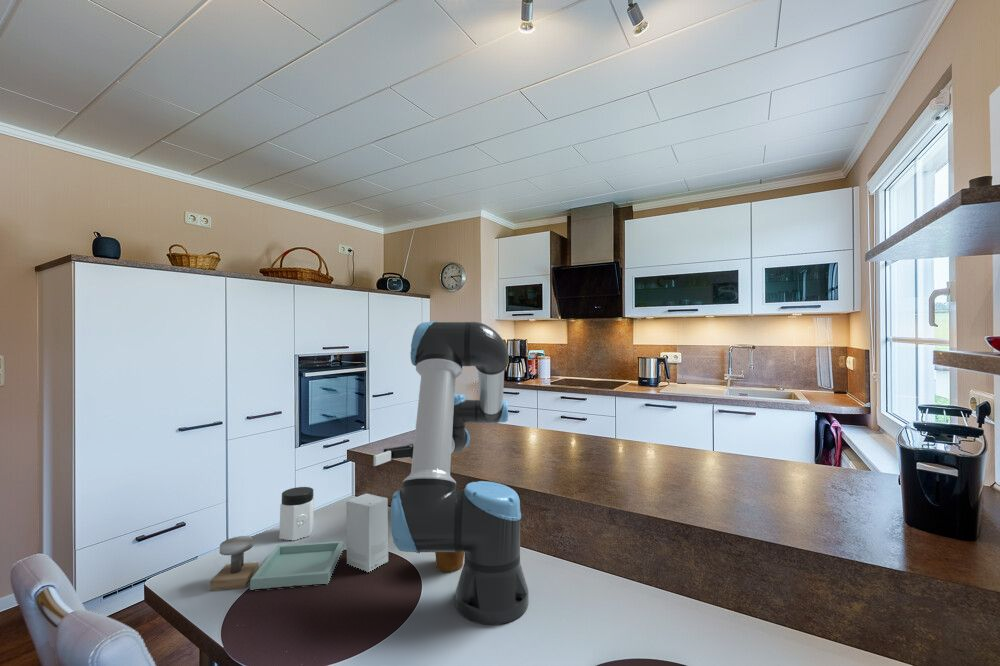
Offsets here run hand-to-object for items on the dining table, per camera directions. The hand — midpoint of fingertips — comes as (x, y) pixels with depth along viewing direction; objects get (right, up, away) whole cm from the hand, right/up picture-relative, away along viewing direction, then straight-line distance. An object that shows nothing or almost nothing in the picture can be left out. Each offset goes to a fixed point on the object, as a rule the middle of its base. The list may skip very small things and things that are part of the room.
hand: (394, 463), depth 110 cm
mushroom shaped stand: (-31, -21, -18) cm, 41 cm away
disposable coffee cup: (+16, -21, -11) cm, 29 cm away
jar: (-29, -22, +6) cm, 37 cm away
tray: (-19, -21, -13) cm, 31 cm away
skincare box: (-4, -21, -10) cm, 24 cm away
